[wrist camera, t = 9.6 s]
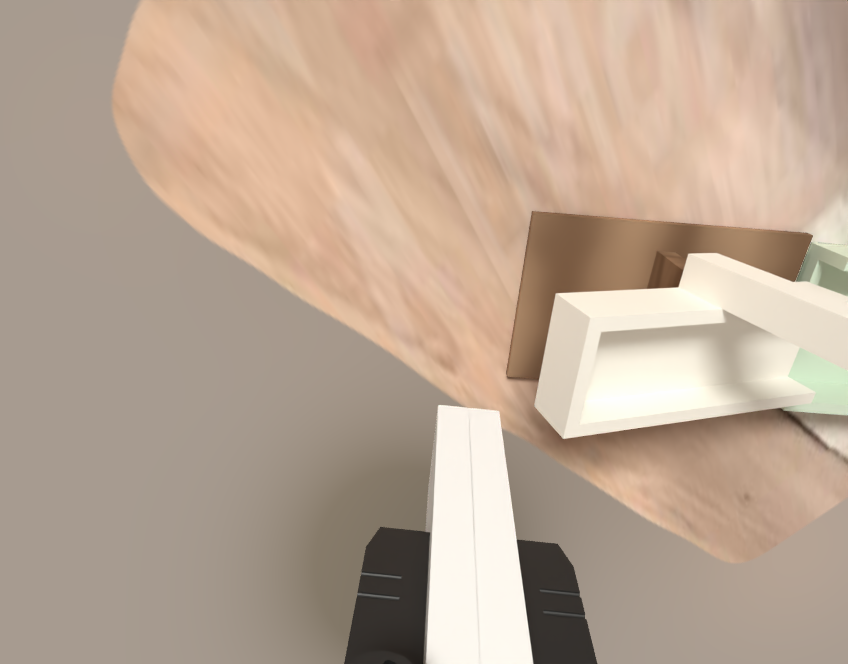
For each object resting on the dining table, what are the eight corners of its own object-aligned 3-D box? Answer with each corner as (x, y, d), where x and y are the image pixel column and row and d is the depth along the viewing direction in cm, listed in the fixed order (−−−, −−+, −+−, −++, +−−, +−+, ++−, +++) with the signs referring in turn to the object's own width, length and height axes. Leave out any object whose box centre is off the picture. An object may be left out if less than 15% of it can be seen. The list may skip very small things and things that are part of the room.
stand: (506, 372, 39) (514, 408, 35) (532, 211, 34) (545, 229, 30) (746, 390, 39) (784, 428, 35) (807, 233, 34) (860, 254, 30)
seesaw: (534, 406, 31) (846, 759, 15) (563, 251, 27) (1029, 508, 11) (767, 378, 36) (1176, 615, 20) (820, 245, 32) (1377, 413, 16)
